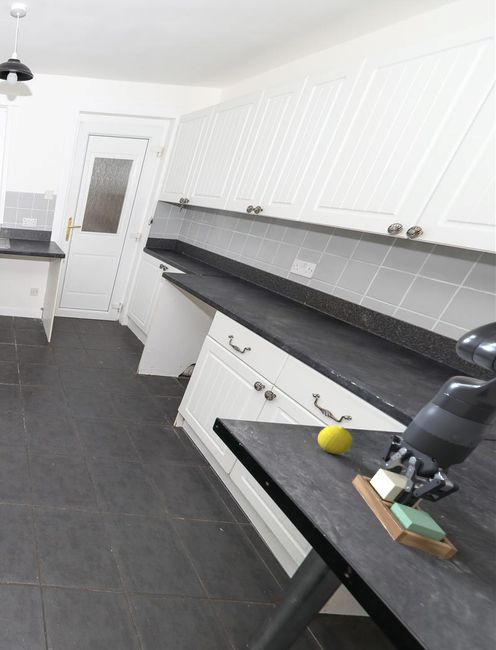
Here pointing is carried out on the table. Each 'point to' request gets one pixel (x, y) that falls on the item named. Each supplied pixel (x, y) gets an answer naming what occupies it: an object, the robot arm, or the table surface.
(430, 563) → the table surface
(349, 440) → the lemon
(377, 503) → the pad holder
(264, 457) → the table surface
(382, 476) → the cream pad
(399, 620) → the table surface
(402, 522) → the sage pad
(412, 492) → the robot arm
